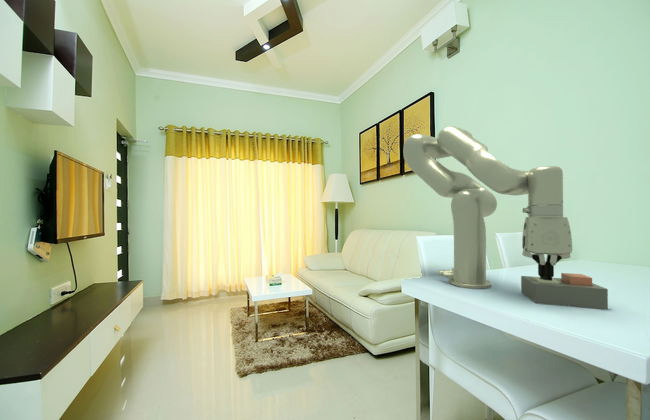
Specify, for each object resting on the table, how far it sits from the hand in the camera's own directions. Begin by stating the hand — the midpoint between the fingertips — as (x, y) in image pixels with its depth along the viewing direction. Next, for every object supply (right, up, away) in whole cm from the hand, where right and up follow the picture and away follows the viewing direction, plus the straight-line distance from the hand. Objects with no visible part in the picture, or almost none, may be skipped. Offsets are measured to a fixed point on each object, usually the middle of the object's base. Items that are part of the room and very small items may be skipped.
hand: (545, 278), depth 76 cm
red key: (+7, -2, -2) cm, 7 cm away
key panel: (+3, -6, -1) cm, 7 cm away
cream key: (0, -3, 0) cm, 3 cm away
